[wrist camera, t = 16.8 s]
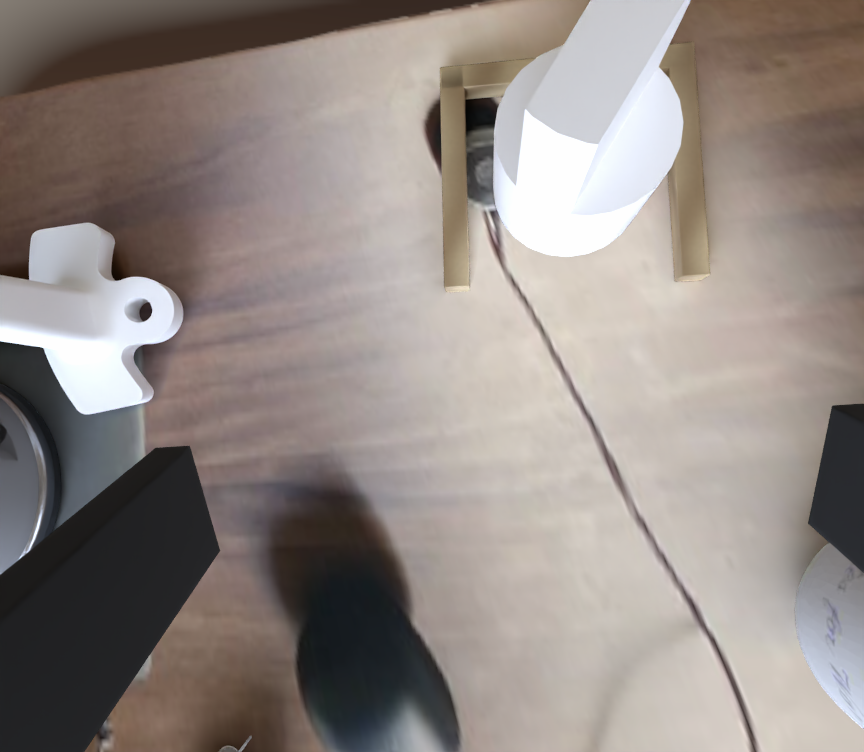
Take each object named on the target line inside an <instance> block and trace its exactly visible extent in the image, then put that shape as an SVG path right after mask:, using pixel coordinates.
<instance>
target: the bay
mask: <svg viewBox="0 0 864 752" xmlns="http://www.w3.org/2000/svg"><path fill="white" fill-rule="evenodd" d="M534 59H536V58H529V59H519V60H509V61H500V62H490V63H480V64H470V65H460V66H450V67H441V68H440V100H441V150H442V200H443V250H444V287H445V290H446V292H465V291H470V269H469V229H468V188H467V148H466V108H465V100H467V99H477V98H488V97H499V96H503V95H504V93H505V91H506V89H507V87H508V86H509V85H510V83H511V82H512V81H513V79H514V78H515V77H516V76H517V74H518V73H519V72H520V71H521V69H523V68H524V67H525V66H527V65H528V64H529V63H531V62H532V61H533V60H534ZM659 68H660V69H661V70H662V71H663V72H664V73H665V74H666V75H667V76H668V78H669V79H670V81H671V83H672V85H673V87H674V89H675V91H676V93H677V95H678V97H679V99H680V104H681V110H682V116H683V122H684V123H683V131H682V139H681V146H680V148H679V151H678V153H677V155H676V158H675V160H674V163H673V165H672V167H671V169H670V170H669V172H668V182H669V198H670V214H671V230H672V246H673V261H674V277H675V282H678V281H699V280H702V279H704V278H706V277H707V276H709V275H710V263H709V249H708V235H707V220H706V206H705V192H704V178H703V163H702V149H701V135H700V120H699V106H698V92H697V78H696V63H695V49H694V42H686V43H676V44H669V46H668V48H667V50H666V52H665V54H664V56H663V58H662V61H661V63H660V65H659Z"/></svg>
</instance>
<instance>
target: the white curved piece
mask: <svg viewBox="0 0 864 752" xmlns="http://www.w3.org/2000/svg"><path fill="white" fill-rule="evenodd" d="M114 245H115V239H114V237H113V236H112V235H111V234H110V233H109V232H107V231H105V230H104V229H102V228H100V227H98V226H96V225H95V224H92V223H81V224H74V225H68V226H61V227H54V228H48V229H41V230H38V231H36V232H34V233H33V235H32V237H31V243H30V254H29V280H26V279H20V278H15V277H9V276H3V275H0V341H2V342H9V343H16V344H23V345H30V346H37V347H43V349H44V351H45V354H46V356H47V359H48V361H49V363H50V366H51V368H52V370H53V372H54V374H55V376H56V377H57V379H58V381H59V383H60V385H61V386H62V388H63V390H64V391H65V393H66V395H67V396H68V398H69V399H70V401H71V402H72V403H73V405H74V406H75V408H76V409H77V410H78V411H79V412H80V413H82V414H94V413H98V412H103V411H108V410H113V409H117V408H122V407H126V406H131V405H136V404H140V403H145V402H148V401H149V400H151V398H152V397H153V394H154V391H153V388H152V387H151V385H150V384H149V383H148V382H147V380H146V379H145V378H144V376H143V375H142V373H141V372H140V371H139V369H138V367H137V366H136V364H135V362H134V353H135V351H136V349H137V348H138V347H140V346H142V345H144V344H156V343H161V342H164V341H166V340H168V339H170V338H171V337H172V336H173V335H175V334H176V332H177V331H178V330H179V328H180V326H181V324H182V321H183V307H182V304H181V301H180V299H179V298H178V296H177V295H176V294H175V293H174V292H173V291H172V290H171V289H170V288H168V287H167V286H165V285H163V284H160V283H158V282H156V281H154V280H151V279H149V278H145V277H128V278H125V279H122V280H119V281H115V280H114V279H113V277H112V274H111V266H112V256H113V250H114ZM147 302H150V304H151V306H152V314H151V316H150V318H149V319H148V320H146V321H144V322H143V321H142V320H141V318H140V315H139V311H140V308H141V307H142V305H144V304H145V303H147Z"/></svg>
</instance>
